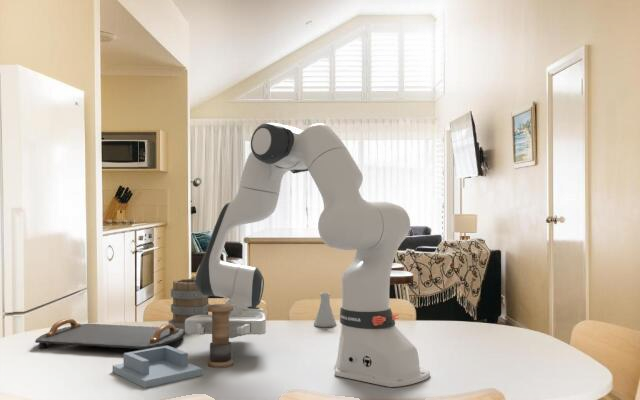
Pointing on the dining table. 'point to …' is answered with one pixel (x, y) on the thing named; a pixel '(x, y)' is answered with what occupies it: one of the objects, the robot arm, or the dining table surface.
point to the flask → (325, 313)
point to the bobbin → (220, 336)
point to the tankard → (187, 302)
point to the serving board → (110, 335)
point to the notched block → (156, 366)
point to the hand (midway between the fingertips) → (220, 331)
